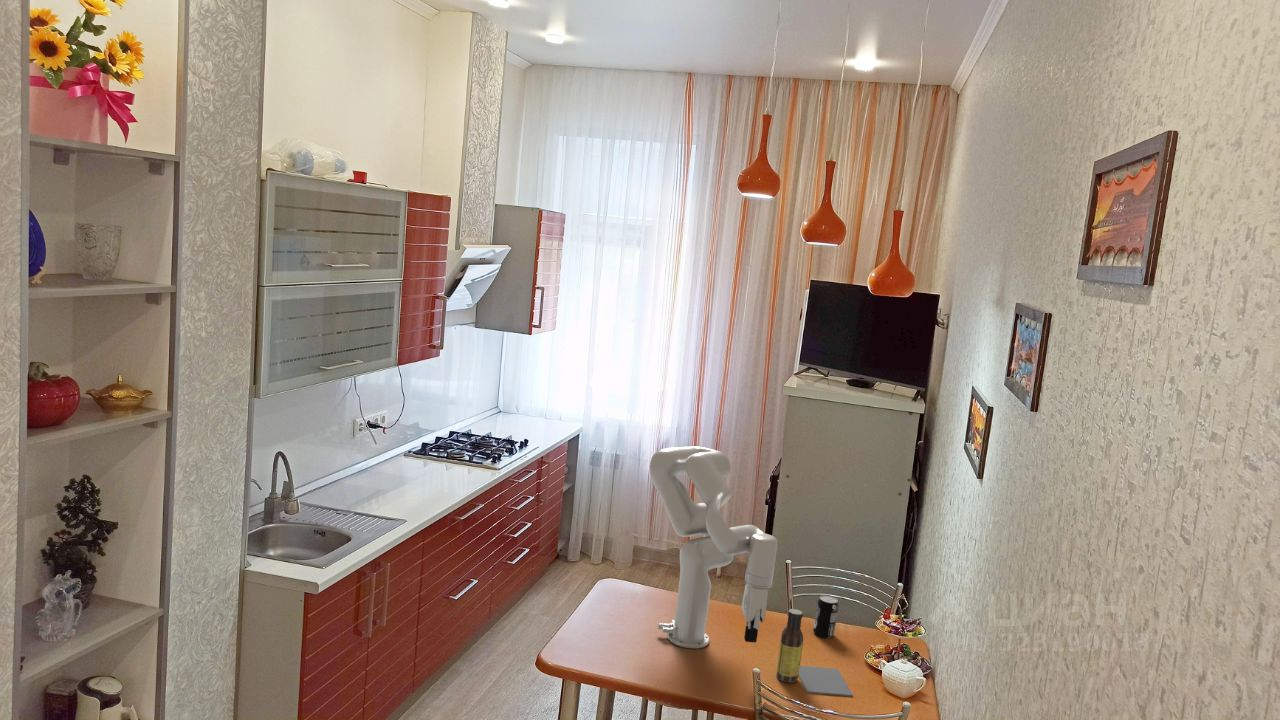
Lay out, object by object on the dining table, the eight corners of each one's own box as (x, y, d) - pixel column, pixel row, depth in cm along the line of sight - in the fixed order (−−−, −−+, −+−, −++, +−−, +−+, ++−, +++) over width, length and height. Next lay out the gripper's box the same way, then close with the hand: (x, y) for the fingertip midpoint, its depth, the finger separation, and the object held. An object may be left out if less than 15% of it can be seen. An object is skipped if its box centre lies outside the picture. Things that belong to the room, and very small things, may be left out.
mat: (806, 692, 253) (806, 691, 253) (794, 666, 268) (794, 665, 268) (852, 696, 254) (852, 694, 254) (837, 670, 269) (838, 668, 269)
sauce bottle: (801, 683, 259) (812, 616, 256) (783, 685, 256) (793, 617, 253) (789, 671, 265) (799, 606, 262) (771, 673, 262) (780, 607, 259)
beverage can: (810, 629, 296) (815, 593, 294) (830, 630, 297) (835, 595, 295) (815, 638, 290) (821, 602, 288) (836, 639, 290) (841, 603, 288)
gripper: (740, 567, 263) (732, 628, 265) (750, 587, 248) (741, 652, 250) (766, 569, 263) (758, 630, 266) (777, 590, 248) (768, 654, 251)
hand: (750, 640), depth 258 cm, fingers closed
